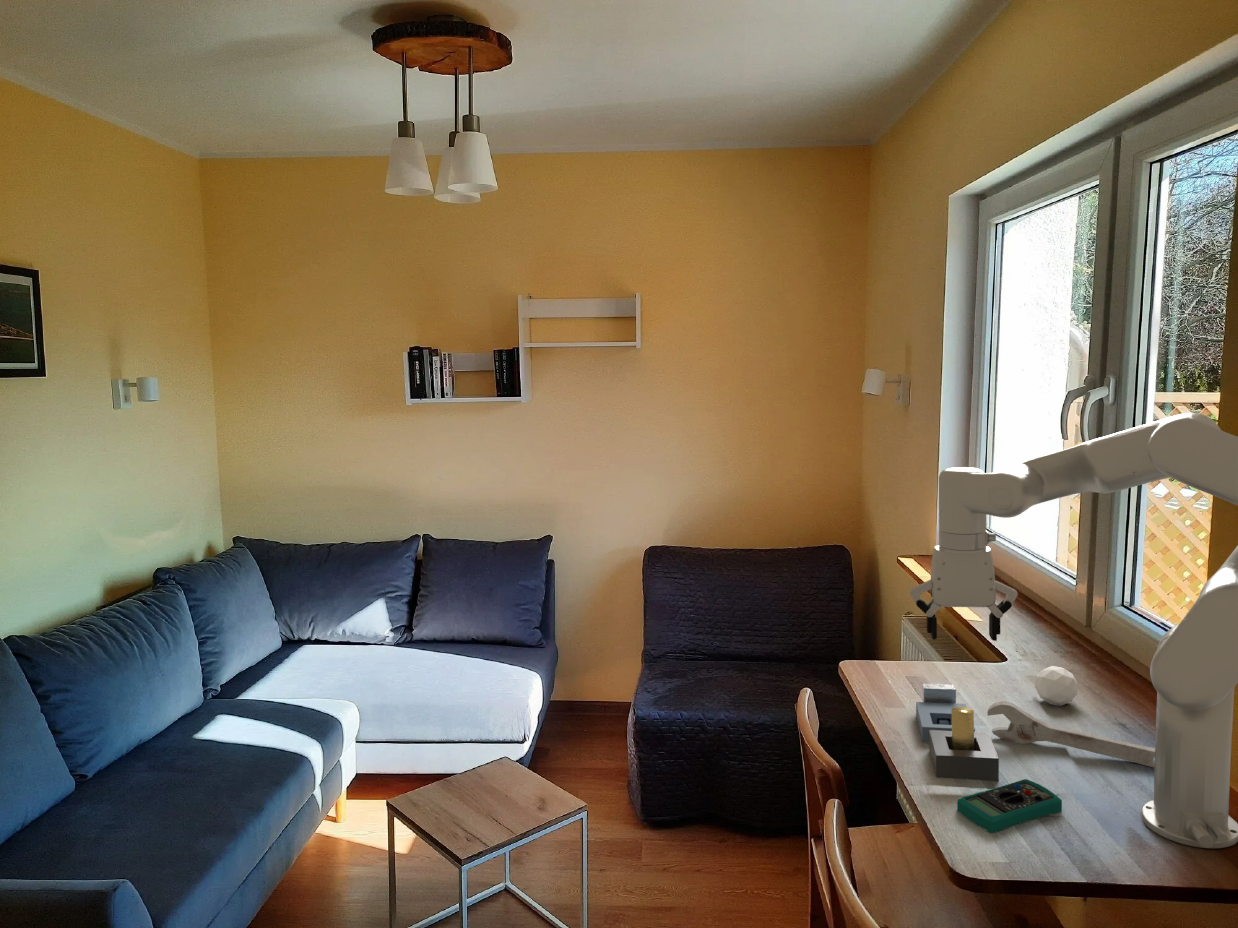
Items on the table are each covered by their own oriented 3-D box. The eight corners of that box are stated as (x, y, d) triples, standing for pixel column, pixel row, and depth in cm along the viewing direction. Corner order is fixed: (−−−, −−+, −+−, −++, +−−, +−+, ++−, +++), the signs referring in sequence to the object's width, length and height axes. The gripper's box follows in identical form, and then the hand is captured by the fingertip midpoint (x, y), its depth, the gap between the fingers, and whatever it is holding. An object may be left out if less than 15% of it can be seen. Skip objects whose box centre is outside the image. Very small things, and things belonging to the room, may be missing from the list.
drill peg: (976, 770, 151) (975, 714, 150) (954, 769, 152) (953, 714, 151) (972, 760, 155) (971, 706, 154) (951, 759, 156) (950, 706, 155)
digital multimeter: (1065, 813, 139) (1066, 795, 139) (990, 836, 134) (990, 818, 134) (1027, 791, 146) (1027, 774, 146) (954, 813, 141) (954, 795, 141)
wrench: (1167, 785, 151) (983, 740, 163) (1166, 780, 152) (984, 736, 165) (1175, 742, 149) (988, 701, 162) (1174, 738, 151) (989, 697, 164)
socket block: (974, 749, 161) (974, 729, 161) (922, 747, 163) (922, 726, 163) (965, 723, 172) (965, 703, 172) (916, 720, 174) (916, 701, 174)
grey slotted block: (998, 786, 148) (998, 758, 147) (936, 782, 150) (935, 754, 149) (988, 758, 157) (988, 732, 157) (929, 755, 160) (929, 729, 159)
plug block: (960, 732, 167) (960, 702, 167) (927, 730, 169) (927, 700, 168) (954, 713, 176) (954, 684, 175) (922, 711, 177) (922, 683, 176)
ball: (1045, 716, 179) (1020, 684, 181) (1064, 693, 184) (1038, 662, 185) (1074, 710, 173) (1047, 677, 174) (1093, 686, 177) (1066, 654, 178)
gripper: (1012, 535, 150) (1012, 631, 152) (907, 536, 154) (908, 629, 156) (1022, 545, 143) (1021, 646, 145) (911, 545, 147) (912, 643, 149)
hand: (963, 637), depth 151 cm, fingers open, 9 cm apart
